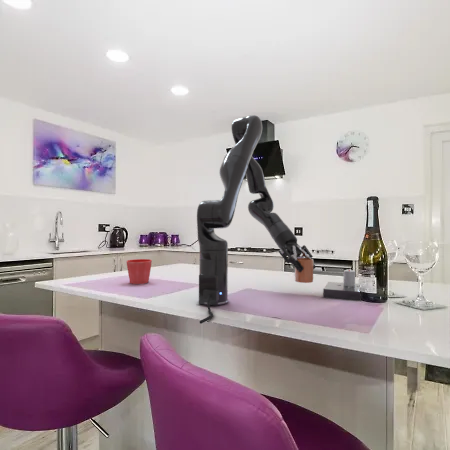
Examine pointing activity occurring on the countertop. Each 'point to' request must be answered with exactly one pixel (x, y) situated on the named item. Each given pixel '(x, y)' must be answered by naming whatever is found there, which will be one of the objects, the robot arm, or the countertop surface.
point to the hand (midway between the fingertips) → (307, 269)
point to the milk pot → (305, 271)
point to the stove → (341, 291)
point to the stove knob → (349, 278)
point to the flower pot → (139, 270)
